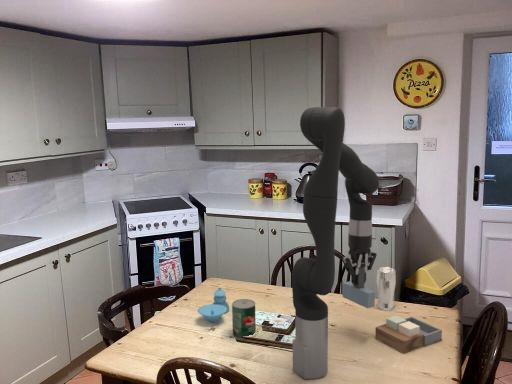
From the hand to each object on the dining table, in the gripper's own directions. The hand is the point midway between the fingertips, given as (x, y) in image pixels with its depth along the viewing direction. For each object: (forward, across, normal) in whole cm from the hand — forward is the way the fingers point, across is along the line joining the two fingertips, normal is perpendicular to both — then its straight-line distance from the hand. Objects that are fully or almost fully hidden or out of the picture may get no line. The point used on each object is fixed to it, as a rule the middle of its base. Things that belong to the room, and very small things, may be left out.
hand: (358, 283), depth 156 cm
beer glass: (+18, +25, +12) cm, 33 cm away
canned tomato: (+19, -32, +21) cm, 42 cm away
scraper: (+6, 0, 0) cm, 6 cm away
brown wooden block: (+18, +8, -11) cm, 22 cm away
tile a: (+14, +9, -14) cm, 22 cm away
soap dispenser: (+19, -34, +39) cm, 55 cm away
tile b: (+14, +9, -8) cm, 19 cm away
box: (+18, +17, -11) cm, 27 cm away
